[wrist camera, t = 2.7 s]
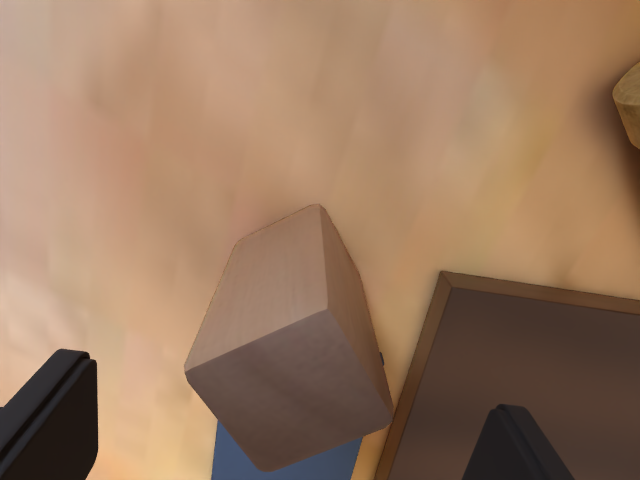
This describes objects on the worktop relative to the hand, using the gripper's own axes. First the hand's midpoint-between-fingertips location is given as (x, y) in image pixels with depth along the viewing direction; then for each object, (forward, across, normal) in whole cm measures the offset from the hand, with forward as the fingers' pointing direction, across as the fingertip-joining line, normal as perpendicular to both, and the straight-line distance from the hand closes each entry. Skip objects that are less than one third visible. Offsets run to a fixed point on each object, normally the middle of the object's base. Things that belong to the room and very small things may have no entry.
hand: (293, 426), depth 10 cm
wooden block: (+8, 0, -1) cm, 8 cm away
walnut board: (+8, -16, +6) cm, 19 cm away
